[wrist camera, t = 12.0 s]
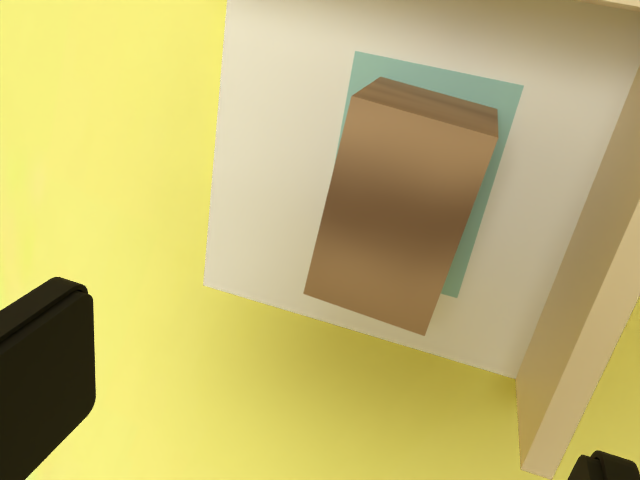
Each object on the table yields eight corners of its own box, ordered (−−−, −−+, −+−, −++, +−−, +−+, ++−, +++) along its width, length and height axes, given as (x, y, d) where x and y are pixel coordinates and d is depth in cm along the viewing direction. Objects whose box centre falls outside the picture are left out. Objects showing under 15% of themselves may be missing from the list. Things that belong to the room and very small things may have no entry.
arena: (704, -15, 20) (790, -21, 14) (539, 379, 28) (551, 479, 22) (240, -91, 23) (156, -121, 18) (208, 280, 31) (142, 344, 25)
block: (437, 274, 26) (424, 336, 22) (337, 241, 27) (303, 293, 22) (497, 109, 23) (498, 138, 18) (380, 76, 24) (351, 95, 19)
